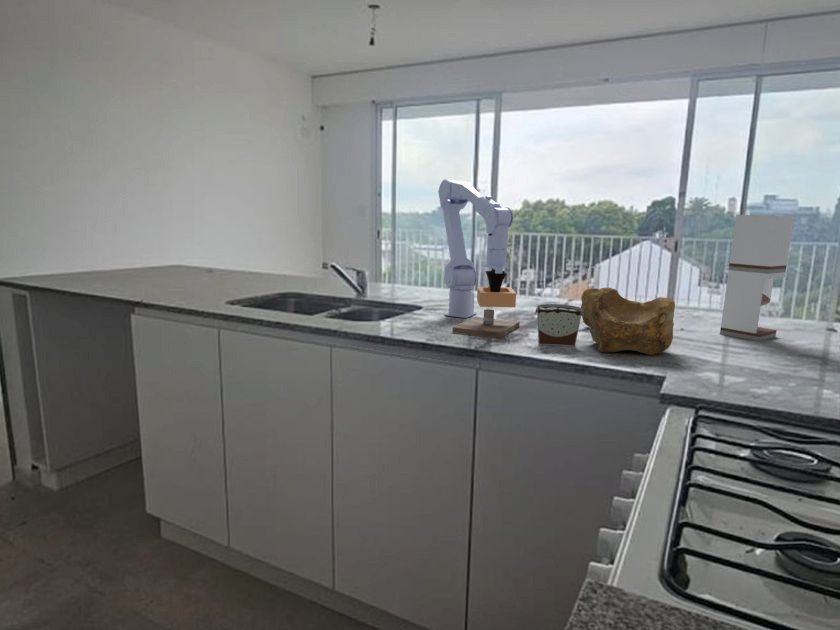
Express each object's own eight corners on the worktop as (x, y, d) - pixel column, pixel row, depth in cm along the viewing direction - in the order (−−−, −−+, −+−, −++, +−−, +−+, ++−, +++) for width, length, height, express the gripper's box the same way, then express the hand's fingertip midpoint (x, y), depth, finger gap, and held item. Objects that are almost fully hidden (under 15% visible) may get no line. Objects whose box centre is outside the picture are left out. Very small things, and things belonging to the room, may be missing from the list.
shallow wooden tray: (476, 300, 160) (477, 286, 160) (510, 300, 160) (511, 287, 159) (479, 306, 151) (480, 292, 150) (515, 307, 150) (516, 293, 150)
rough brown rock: (563, 352, 136) (569, 295, 131) (580, 335, 149) (586, 282, 145) (663, 371, 124) (672, 308, 120) (671, 350, 138) (680, 294, 134)
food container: (576, 341, 145) (579, 304, 143) (581, 346, 139) (584, 308, 137) (530, 338, 146) (532, 302, 144) (532, 344, 140) (535, 306, 138)
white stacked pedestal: (758, 341, 152) (777, 215, 145) (719, 333, 160) (736, 214, 154) (775, 336, 158) (794, 216, 152) (737, 330, 167) (753, 215, 160)
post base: (475, 321, 168) (476, 304, 167) (519, 326, 162) (520, 308, 161) (452, 332, 151) (453, 313, 150) (500, 338, 145) (501, 318, 144)
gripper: (481, 247, 164) (478, 291, 167) (485, 250, 150) (483, 298, 152) (504, 248, 164) (501, 292, 166) (511, 251, 150) (508, 299, 152)
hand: (494, 295), depth 159 cm, fingers closed on shallow wooden tray
